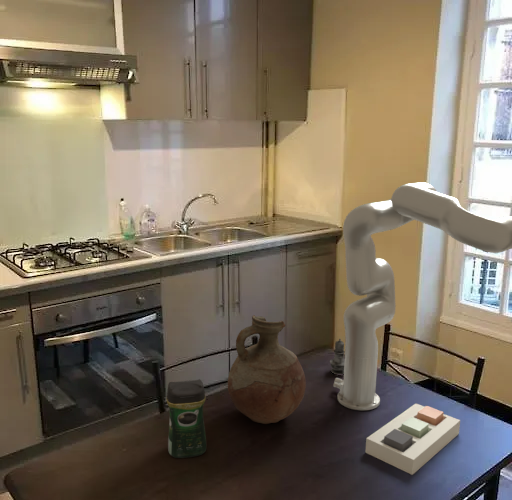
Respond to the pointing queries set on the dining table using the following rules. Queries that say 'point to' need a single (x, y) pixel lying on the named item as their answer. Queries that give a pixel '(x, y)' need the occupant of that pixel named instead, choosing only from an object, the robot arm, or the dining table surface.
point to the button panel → (420, 448)
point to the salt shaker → (338, 358)
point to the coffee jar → (186, 418)
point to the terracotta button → (430, 415)
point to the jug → (265, 375)
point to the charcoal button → (398, 440)
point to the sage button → (415, 427)
